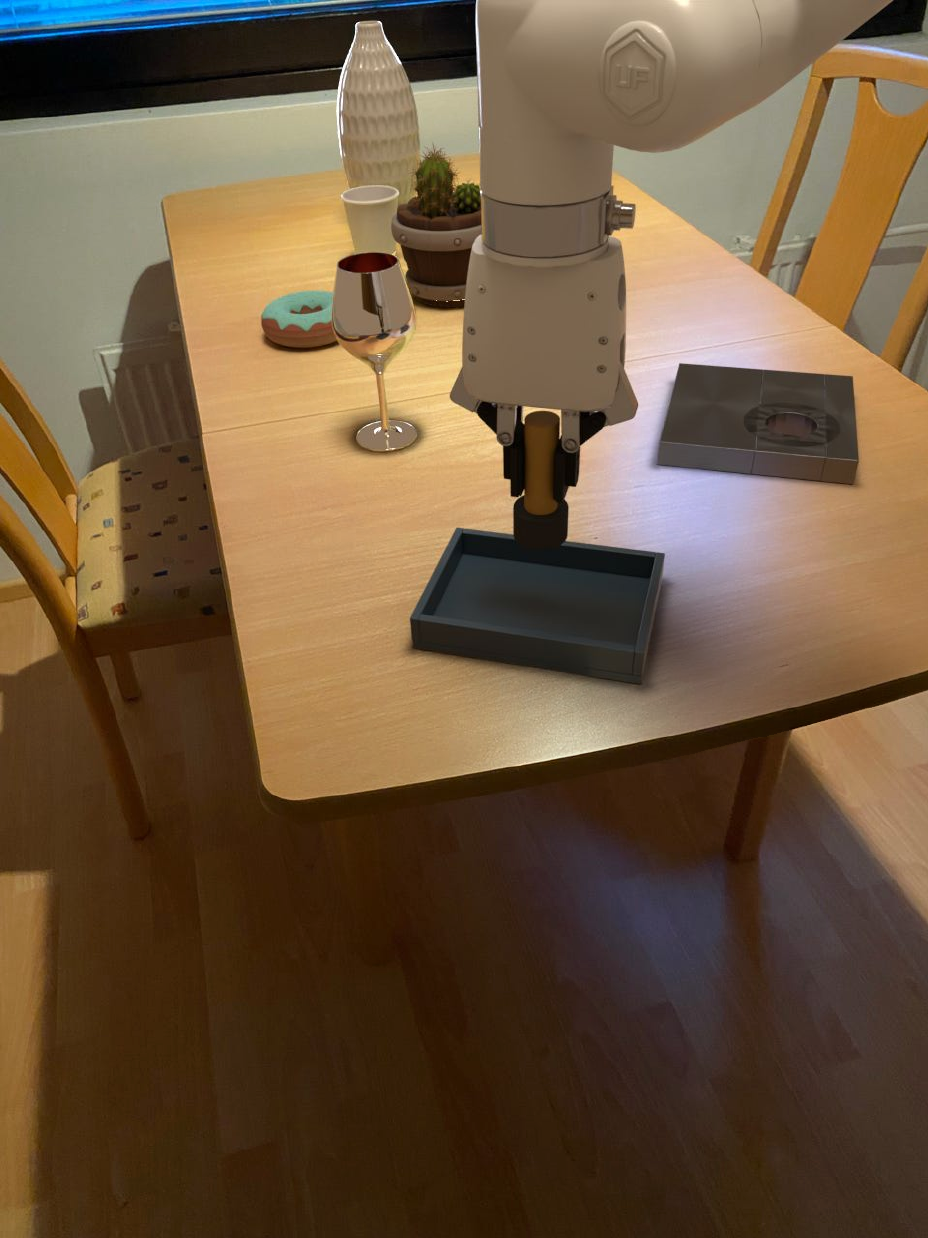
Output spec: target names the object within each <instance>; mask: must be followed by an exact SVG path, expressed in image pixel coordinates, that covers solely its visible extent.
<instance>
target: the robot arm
mask: <svg viewBox="0 0 928 1238" xmlns="http://www.w3.org/2000/svg"><path fill="white" fill-rule="evenodd" d="M893 1H894V0H476V3H475V42H476V45H475V46H476V47H475V48H476V78H477V80H476V81H477V83H476V84H477V112H478V113H477V115H478V116H477V118H478V152H479V153H478V154H479V155H478V157H479V186H480V197H481V234H482V235H480V236H478V237H477V238H476V239H475V242H474V243H473V245H472V250H471V255H470V261H469V268H468V275H467V283H466V293H465V305H464V306H463V307H464V308H463V319H462V341H461V342H462V344H461V345H462V347H461V349H462V350H461V356H462V357H461V362H462V363H461V368H460V369H459V373H458V375H457V377H456V380H455V381H454V384H453V386H452V388H451V391H450V392H449V399H450V400H451V402H452V403H453V404H455V405H457V406H459V407H462V408H463V409H465V410H467V411H469V412H471V413H474V414H476V415H477V416H478V418H479V419H480V420H481V421H482V422H483V423H484V424H485V425H486V426H487V427H488V428H489V429H490V430H491V431H492V432H493V433H494V434H495V435H496V441H497V443H498V444H499V445H501V446H502V465H503V466H502V467H503V469H502V471H503V473H502V474H503V475H502V476H503V480H509V481H510V482H509V484H510V485H509V486H510V489H509V490H510V491H509V492H510V497H511V498H520V497H521V496H523V494H524V409H525V408H526V407H527V408H534V409H535V408H536V409H547V410H559V411H560V432H561V435H560V437H559V444H558V445H557V448H556V450H555V452H554V468H553V500H555V502H560V503H563V501H564V499H565V500H566V496H567V493H568V491H569V488H570V487H571V488H576V487H577V485H578V482H579V477H580V465H581V463H580V462H581V446H583V444H585V443H586V442H587V441H589V440H590V439H592V438H594V436H596V434H598V433H599V432H601V431H602V430H603V429H604V428H605V427H606V428H607V427H609V426H610V427H612V426H614V425H618V424H621V423H624V422H627V421H628V422H629V421H630V420H633V419H634V418H635V417H636V415H637V411H638V408H639V401H638V399H637V396H636V394H635V391H634V389H633V387H632V384H631V382H630V379H629V376H628V374H627V372H626V369H625V364H626V351H627V349H626V348H627V347H626V346H627V279H626V268H625V267H626V266H625V259H624V252H623V251H624V249H623V245H622V241H621V240H620V239H618V238H617V237H615V236H612V235H613V234H614V232H615V231H616V232H617V231H618V232H619V231H621V229H625V230H626V229H627V230H633V229H634V226H635V220H636V211H637V209H636V208H637V206H636V203H629V202H628V203H626V202H625V203H624V201H623V200H617V199H618V198H617V197H618V196H617V195H616V194H614V186H615V185H613V184H612V182H613V166H614V165H613V164H614V151H615V149H614V147H615V146H616V147H619V148H622V149H626V150H629V151H634V152H639V153H651V154H652V153H653V154H656V153H657V154H659V153H667V152H672V151H675V150H680V149H681V148H684V147H686V146H688V145H691V144H693V143H695V142H697V141H698V140H699V139H701V138H703V137H705V136H706V135H708V134H710V133H711V132H713V131H715V130H716V129H718V128H719V127H722V126H723V125H724V124H726V123H728V122H729V121H731V120H732V119H733V120H734V118H737V117H738V116H740V115H741V114H744V113H746V112H748V111H749V110H751V109H753V108H755V107H757V106H758V105H759V104H761V103H762V102H764V101H765V100H766V99H768V98H769V97H771V96H772V95H774V94H775V93H776V92H777V91H779V90H780V89H782V88H783V87H784V86H786V85H787V84H789V83H790V82H791V81H792V80H793V79H795V78H796V77H797V76H798V75H800V74H801V73H802V72H804V71H805V70H806V69H808V68H809V67H810V66H811V65H812V64H814V63H815V62H816V61H818V60H819V59H820V58H822V57H823V56H824V55H825V54H826V53H828V52H829V51H830V50H832V49H833V48H835V47H836V46H837V45H838V44H840V43H841V42H842V41H843V40H844V39H846V38H847V37H849V35H851V34H853V32H855V31H856V30H858V29H859V28H861V27H862V26H863V25H864V24H865V23H866V22H868V21H869V20H870V19H871V18H873V17H874V16H876V15H877V14H878V13H879V12H880V11H881V10H883V9H884V8H886V7H887V6H888V5H889V4H891V3H892V2H893ZM524 407H525V408H524Z"/></svg>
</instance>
